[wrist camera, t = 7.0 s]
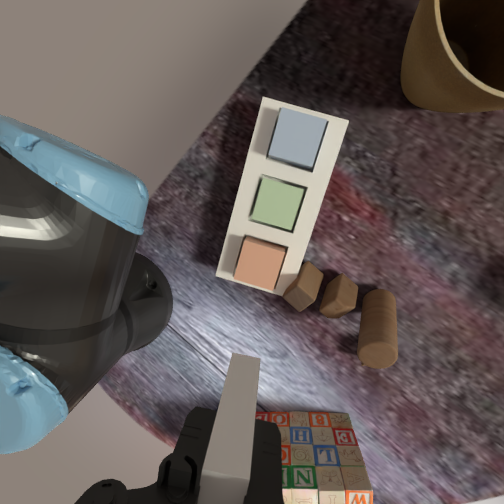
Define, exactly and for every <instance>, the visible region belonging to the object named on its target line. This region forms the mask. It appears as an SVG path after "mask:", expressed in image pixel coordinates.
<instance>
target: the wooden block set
mask: <svg viewBox="0 0 504 504" xmlns="http://www.w3.org/2000/svg"><path fill="white" fill-rule="evenodd" d="M323 276H324V275H323V273H321V272H320V271H319V270H318V269H317V268H316V267H315V266H314V265H312V264H311V263H310V262H309V261H307V262H305V263H304V264H303V265H302V266H301V267H300V269H299V272H298V275H297V278H296V279H295V280H294V281H293V282H292V283H291V284H290V285H289V286H288V287H287V288H286V290H285V292H284V294H283V298H284V299H285V300H286V301H287V302H288V303H289V304H290V305H292V306H293V307H294V308H295V309H296V310H297V311H299V312H301V311H302V310H304V309H305V308H306V307H308V306H309V305H310V304H312V303H313V302H314V301H315V300H316V297H317V294H318V291H319V288H320V285H321V282H322V279H323ZM357 293H358V286H357V285H356V284H354V283H353V282H352V281H351V280H350V279H349V278H348V277H347V276H345V275H344V274H343V273H341V274H340V275H338V276H337V277H336V278H334V279H333V280H332V281H330V282H329V283H328V284H327V286H326V289H325V292H324V296H323V299H322V302H321V305H320V309H319V311H320V312H321V313H322V314H323V315H324V316H326V317H327V318H340V317H342V316H343V315H345V314H346V313H348V312H350V311H351V310H353V309H354V308H355V306H356V299H357ZM357 355H358V358H359V360H360V361H361V362H362V366H363V365H366V366H368V367H371V368H376V369H381V368H387V367H390V366H391V365H393V364H394V363H395V361H396V360H397V357H398V344H397V319H396V300H395V297H394V296H393V294H392V293H391V292H389V291H387V290H384V289H376V290H372V291H370V292H368V293H367V294H366V295H365V296H364V298H363V304H362V313H361V322H360V330H359V339H358V348H357Z"/></svg>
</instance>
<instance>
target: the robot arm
mask: <svg viewBox="0 0 504 504" xmlns="http://www.w3.org/2000/svg"><path fill="white" fill-rule="evenodd" d="M148 199H149V195H148V190H147V188H146V186H145V184H144V183H143V182H142V181H141V180H140V179H139V178H138V177H137V176H135V175H134V174H132V173H131V172H129V171H127V170H126V169H124V168H122V167H120V166H118V165H116V164H114V163H112V162H110V161H108V160H106V159H104V158H102V157H100V156H98V155H96V154H94V153H92V152H90V151H88V150H86V149H83V148H81V147H79V146H77V145H75V144H73V143H70V142H68V141H65V140H64V139H61V138H59V137H57V136H55V135H52V134H49V133H47V132H45V131H42V130H40V129H38V128H35V127H32V126H29V125H27V124H24V123H21V122H19V121H17V120H15V119H12V118H9V117H6V116H2V115H0V454H9V453H13V452H17V451H21V450H26V449H28V448H30V447H32V446H33V445H35V444H36V443H38V442H39V441H40V440H41V439H43V438H44V437H45V436H46V435H47V434H48V433H49V432H50V431H52V429H54V428H55V427H56V426H57V425H59V424H61V423H62V422H63V421H64V420H65V419H66V417H67V415H68V414H69V413H70V412H71V411H72V410H73V408H74V407H75V406H76V405H77V404H78V403H79V402H80V401H81V400H82V399H83V398H84V397H85V396H86V395H87V393H88V392H89V391H90V390H91V389H92V388H93V387H94V386H95V385H96V384H97V383H98V382H99V381H100V380H101V379H102V378H103V376H104V375H105V374H106V373H107V372H108V371H109V370H110V369H111V368H112V367H113V366H114V365H115V364H116V363H117V362H118V360H119V359H120V358H121V357H122V356H124V355H125V354H127V353H129V352H131V351H135V350H138V349H141V348H143V347H145V346H147V345H148V344H150V343H151V342H153V341H154V340H155V339H156V338H157V337H158V336H159V335H160V333H161V332H162V331H163V330H164V329H165V327H166V326H167V324H168V322H169V320H170V317H171V314H172V309H173V298H172V292H171V288H170V285H169V283H168V281H167V279H166V277H165V276H164V274H163V273H162V271H161V270H160V269H159V268H158V267H157V266H156V265H155V264H154V263H153V262H152V261H150V260H149V259H148V258H146V257H144V256H142V255H140V254H138V253H135V252H136V248H137V245H138V242H139V238H140V235H142V234H143V230H144V229H143V227H142V226H143V221H144V217H145V213H146V208H147V204H148ZM259 368H260V358H256V357H251V356H246V355H241V354H237V353H232V357H231V361H230V365H229V368H228V372H227V376H226V380H225V384H224V388H223V392H222V395H221V399H220V403H219V407H218V411H215V410H210V409H206V408H201V407H195V408H194V409H193V410H192V411H191V412H190V413H189V414H188V415H187V418H186V420H185V423H184V426H183V428H182V431H181V433H180V436H179V439H178V441H177V444H176V446H175V449H174V451H173V453H171V454H170V455H168V456H167V457H166V458H164V459H163V461H162V462H161V464H160V466H159V472H158V480H157V482H155V483H154V484H152V485H150V486H148V487H144V488H138V489H131V490H127V489H126V486H125V485H124V484H123V483H122V482H121V481H118V480H115V479H107V480H102V481H100V482H98V483H96V484H94V485H92V486H91V487H90V488H89V489H88V490H86V492H84V494H83V495H82V496H81V497H80V498H79V499H78V500H77V501H76V503H75V504H285V503H284V500H283V488H282V458H281V457H282V448H281V433H280V430H279V428H278V426H277V424H276V423H273V422H269V421H264V420H260V419H255V414H256V403H257V391H258V380H259Z"/></svg>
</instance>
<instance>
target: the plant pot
mask: <svg viewBox="0 0 504 504" xmlns="http://www.w3.org/2000/svg"><path fill="white" fill-rule="evenodd" d="M401 87H402V90H403V93H404V95H405V96H406V98H407V99H408V100H409V101H410V102H411V103H412V104H414V105H415V106H417V107H420V108H423V109H427V110H431V111H437V112H448V113H469V112H484V111H493V110H502V109H504V0H420V1H419V4H418V7H417V9H416V12H415V15H414V18H413V20H412V23H411V26H410V30H409V33H408V37H407V40H406V44H405V48H404V53H403V59H402V66H401Z"/></svg>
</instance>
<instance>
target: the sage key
mask: <svg viewBox="0 0 504 504" xmlns="http://www.w3.org/2000/svg"><path fill="white" fill-rule="evenodd" d="M303 191H304V189H301V188H297V187H294V186H290V185H287V184H283V183H280V182H276V181H273V180H270V179H266V178H263V179H262V183H261V186H260V190H259V193H258V197H257V201H256V204H255V208H254V211H253V215H252V218H251V219H254V220H258V221H261V222H265V223H268V224H271V225H275V226H278V227H282V228H285V229H288V230H291V229H292V226H293V223H294V220H295V217H296V213H297V210H298V207H299V204H300V201H301V198H302V194H303Z"/></svg>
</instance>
